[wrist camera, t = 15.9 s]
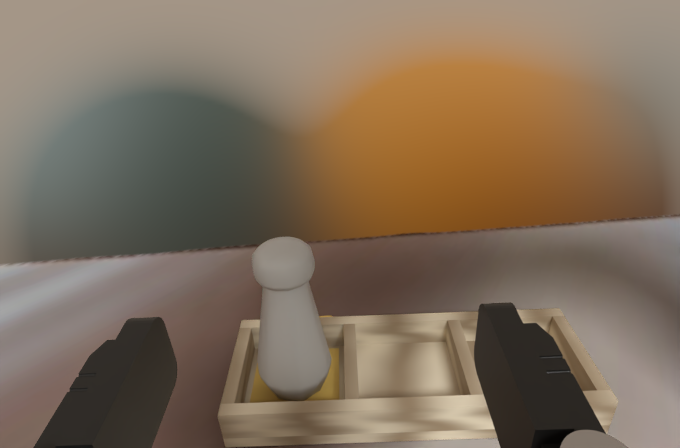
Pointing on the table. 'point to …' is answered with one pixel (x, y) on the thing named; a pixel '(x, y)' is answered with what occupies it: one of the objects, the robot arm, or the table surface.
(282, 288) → the salt shaker
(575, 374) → the tray
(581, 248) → the table surface
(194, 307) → the table surface
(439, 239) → the table surface
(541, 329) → the robot arm
